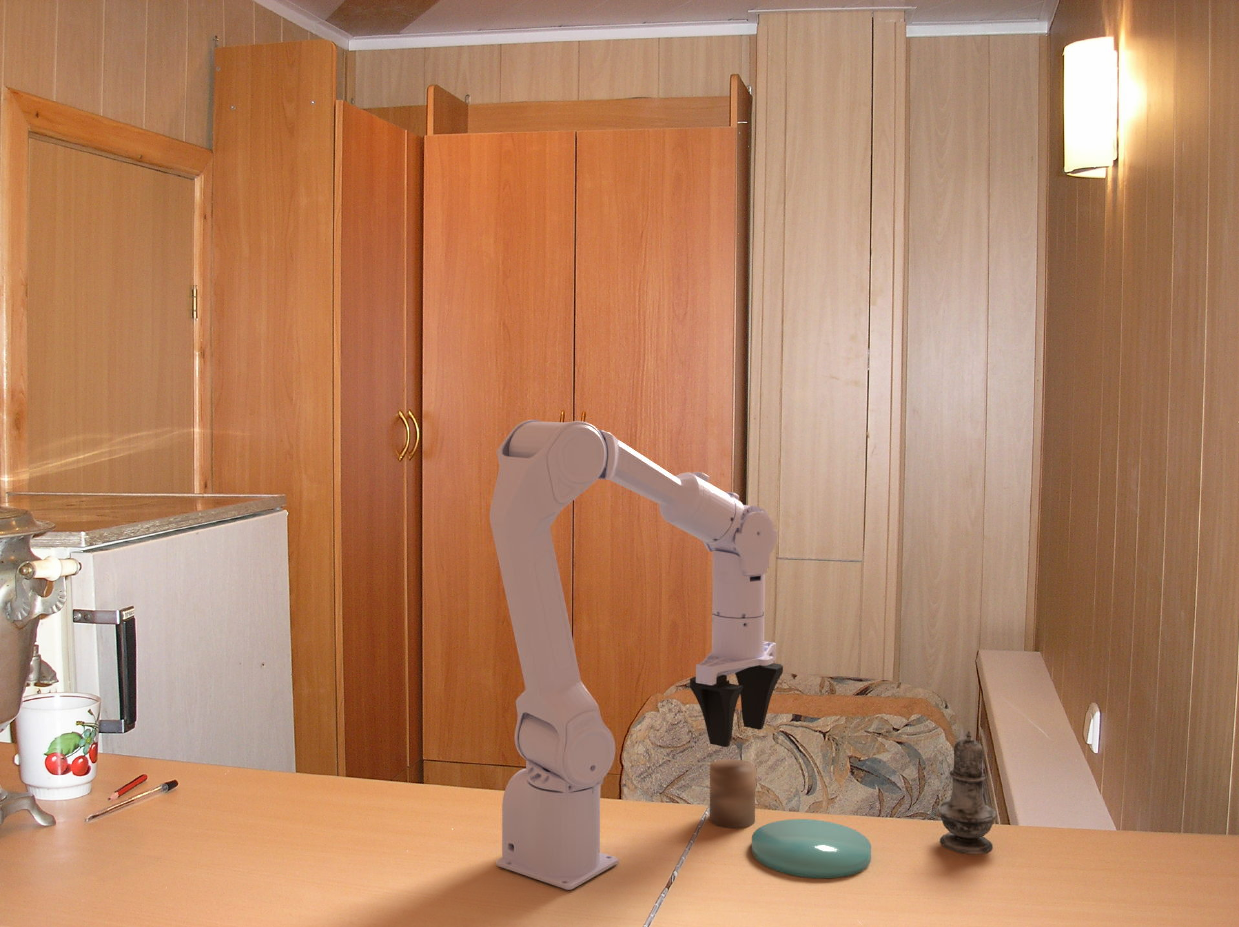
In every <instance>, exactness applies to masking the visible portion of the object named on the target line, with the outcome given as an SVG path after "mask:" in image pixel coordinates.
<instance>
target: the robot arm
mask: <svg viewBox="0 0 1239 927" xmlns="http://www.w3.org/2000/svg"><path fill="white" fill-rule="evenodd" d="M495 453H496V458H497V463H498V465H499V468H498V473H497V477H496V482H495V486H494V491H493V495H492V498H491V505H490V508H489V522H490V528H491V532H492V536H493V542H494V546H495V551H496V555H497V560H498V564H499V569H500V575H501V579H502V584H503V588H504V593H505V597H506V598H505V599H506V602H507V608H508V612H509V615H510V616H509V617H510V621H511V626H512V631H513V635H514V640H515V641H514V642H515V644H516V648H517V654H518V660H519V662H520V668H521V673H522V678H523V683H524V688H525V689H524V691H523V692H521V694H520V695H519V696H518V697H517V699H516V700H515V706H516V714H517V721H516V726H515V730H514V744H515V748H516V750H517V752H518V754H519V756H520V757H522V758H523V759H524V760H525V768H522V769H520V770H519V771H517V772H516V773H515V774H514V775H512V776H511V778H510V779H509V780H508V782H507V785H506V787H505V790H504V793H503V796H502V803H501V804H502V805H501V806H502V807H501V809H502V811H501V814H502V815H501V816H502V817H501V818H502V819H501V821H502V824H501V827H502V828H501V834H502V836H501V839H502V840H501V847H502V849H501V850H502V851H501V852H502V853H501V857H500V858H498V859H497V860H496V866H497V867H500V868H503V869H505V870H508V871H512V872H514V873H517V874H520V875H524V876H525V877H529V878H532V879H535V880H538V881H540V882H543V883H546V884H549V885H553V886H555V887H558V888H561V889H564V890H568V891H569V890H573V889H575V888H578V887H579V886H580V885H582V884H583V883H585V882H587V881H589V880H591V879H593V878H594V877H596V876H598V875H599V874H602V873H603V872H605V871H606V870H608V869H610V868H612V867H614V866H615V865H617V864H618V863H619V859H618V857H617V856H613V855H609V854H606V853H604V852H601V848H600V847H601V786H602V785H604V778H605V777H606V776H607V774H608V773H609V772H610V771H611V768H612V766H613V764H614V760H615V756H616V742H615V737H614V735H613V732H612V731H611V730H610V729H609V728H608V726H607V725H606V724H605V723H604V721H603V718H602V715H601V712H600V707H599V704H598V703H597V701H596V700H595V698H594V696H592V694H591V693H590V691H588V689H587V687H586V686H585V685H584V683H583V682H582V680H581V679H582V678H581V674H580V669H579V664H578V661H577V660H578V659H577V655H576V651H575V650H576V649H575V645H574V644H575V643H574V641H573V640H574V639H573V634H572V631H571V625H570V621H569V615H568V610H567V605H566V600H565V594H564V591H563V590H564V589H563V586H562V585H563V584H562V581H561V575H560V570H559V566H558V560H557V555H556V551H555V546H554V542H553V541H554V540H553V537H552V536H553V535H552V530H551V527H552V525H553V523H554V522H555V521H556V519H557V517H558V516H559V514H561V511H562V510H564V508H566V507H567V506H568V505H569V504H570V503H572V502H573V501H574V500H576V498H578V497H579V496H580V495H582V494H583V493H584V492H586V490H588V488H590V487H591V486H593V484H595V482H596V481H597V480H604V481H605V480H607V481H608V480H609V481H611V482H612V483H614V484H617V485H619V486H622V487H624V488H625V489H627V490H630V491H632V492H633V493H635V494H638V495H639V496H642V497H644V498H646V499H648V500H650V501H652V502H653V503H656V504H658V506H659V507H658V508H659V513H660V515H661V518H662V519H663V520H664V521H665V522H666V523H669V524H671V525H673V527H676V528H677V529H680V530H681V531H684V532H685V533H687V534H689V535H691V536H693V537H695V538H697V539H698V540H700V541H702V543H703V545H704V547H705V549H706V550H707V551H708V552H711V553H712V600H711V601H712V602H711V604H712V606H711V608H712V610H711V616H712V618H711V650H710V652H709V653H708V654H707V655H706V657H705V658H704V659H703V660H702V661H701V662H699V663H697V664H696V665H695V676H692V677H690V679H689V688H690V690H691V691H692V693H693V694H694V697H695V698H696V701H697V703H698V705H699V707H700V708H699V709H700V711H701V713H702V716H703V720H704V725H705V729H706V733H707V736H708V740H709V744H710V745H713V746H718V747H723V748H728V747H729V746H730V745H731V741H732V736H733V729H734V728H733V726H734V717H735V712H736V708H737V705H738V704H737V703H738V701H739V698H740V704H741V705H740V707H741V708H740V709H741V716H742V717H741V718H742V723H743V727H745V728H750V729H753V730H762V729H763V728H764V726H765V722H766V718H767V714H768V710H769V706H770V702H771V699H772V696H773V693H774V690H775V688H776V685H777V683H778V681H779V680H780V679H781V676H782V674H783V672H784V665H783V664H780V663H776V662H774V661H775V660H777V643H776V642H771V641H767V640H765V612H766V606H765V605H766V604H765V603H766V574H767V572H768V569H769V568H770V557H771V553H772V552H773V551H774V549H775V546H776V544H777V541H778V536H779V531H778V530H776V529H775V525H774V521H773V519H772V518H771V516H770V514H769V513H768V512H767V511H766V510H765V509H764V508H762V507H760V506H755V505H754V506H753V505H747V504H743V502H741V500H740V496H739V494H737V493H736V492H733V491H732V492H731V491H727V492H725V491H724V490H721V489H720V488H718V487H717V486H715V485H713V484H712V483H710V482H709V480H710V476H709V475H707V474H706V473H704V472H702V471H701V472H700V471H693V472H683V473H682V472H681V473H679V474H677V475H674V474H672V473H670V472H668V471H667V470H665V469H664V468H662V467H661V466H659V465H658V464H657V463H655V462H653V461H651V459H648V457H646V456H644V455H642V454H641V453H639V452H637V451H636V450H634V449H633V448H632V447H630V446H628V445H627V444H625V443H624V442H623V441H621V440H619V439H617V437H616V436H615V435H614V434H612V433H611V432H608V431H605V430H602V429H598V428H596V426H594V425H593V424H591V423H589V422H586V421H582V420H574V421H573V420H572V421H568V422H566V421H564V422H562V421H561V422H560V421H558V422H557V421H543V420H542V421H541V420H537V419H529V420H524V421H521V422H520V423H518V424H516V426H514V427H513V428H512V429H511V430H510V431H509V432H508V434H507V436H506V437H505V439H504V440H503V441H502V443H501V444H500V445H499V447H498V448H497V450H496V452H495ZM733 674H735V678H736V681H737V684H734V683H730V680H729V679H728V676H731V675H733Z"/></svg>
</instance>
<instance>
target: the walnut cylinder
mask: <svg viewBox="0 0 1239 927" xmlns="http://www.w3.org/2000/svg"><path fill="white" fill-rule="evenodd" d="M756 768H757V767H756V765H755V764H754V763H752V762H750V761H748V760H747V761H746V760H742V759H735V758H730V759H729V758H728V759H727V758H726V759H719V760H715V761H712V762H711V763H710V765H709V821H710V823H712V825H714V826H716V827H718V828H719V827H720V828H724V829H725V828H726V829H732V830H733V829H736V830H737V829H744V828H748V827H751V826H753V825H755V822H756V774H757V772H756V771H757V770H756Z"/></svg>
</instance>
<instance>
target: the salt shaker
mask: <svg viewBox="0 0 1239 927" xmlns="http://www.w3.org/2000/svg"><path fill="white" fill-rule="evenodd" d="M964 735H965V736H966V737H964V738H963V739H959V740H958V741H956V742H955V744H954V746H953V769H952V770H950V771H949V775H950V777H952V788H951V789H952V791H951V796H950V798H949V800H946V801H943V802H941V803H940V804H939V805H938V806H937V811H938V812H939V813H940V820H941V823H942V824H943V827H944V828H945V829H947V831H948V832H947V833H946V834H943V835H942V836H941V837H940V838H939V843H940V844H941V846H943V847H944V848H946V849H948V850H949V851H952V852H956V853H961V854H967V855H982V854H983V855H984V854H987V853H990V852H991V851H992V850H993V848H994V847H993V843H992V842H991V841H990V840H989V839H987V838H986V837H985V836H986V835H987V834H988V833H989V832H990V831H991V829H992V827H993V825H994V820H995V819H996V818H997V812H996V810H995V809H993V807H991V806H988V805H986V804H985V801H984V795H983V790H984V788H983V786H984V784H983V783H984V780H986V778H987V775H986V774H985V773H984V772H983V761H984V760H983V757H984V756H983V754H984V753H983V752H984V749H983V746H982V745H981V743H980V742H979V741H977V740H975V739H974V738H972V736H973V734H972V733H971V732H970V731H969V730H968V731H967V732H966V733H965V734H964Z"/></svg>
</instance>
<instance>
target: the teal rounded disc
mask: <svg viewBox="0 0 1239 927" xmlns="http://www.w3.org/2000/svg"><path fill="white" fill-rule="evenodd" d="M751 853H752V855H753V857H754V858H755V859H756V860H757V861H758V862H759V863H760V864H762V865H764V866H765V867H767V868H769V869H771V870H774V871H776V872H779V873H782V874H786V875H791V876H795V877H800V878H809V879H810V878H811V879H833V878H835V879H836V878H842V877H848V876H852V875H853V876H854V875H855V874H858V873H860V872H862V871H863V870H865V869H867V867H869V865H870V863H871V860H872V844H871V842H870V840H869V839H868V838H867V837H866V836H865V835H864V834H862V833H860V832H859V831H857V830H856V829H853V828H851V827H849V826H845V825H842V824H839V823H835V822H831V821H827V820H826V821H825V820H819V819H805V818H801V819H800V818H798V819H797V818H794V819H793V818H791V819H784V820H777V821H772V822H769V823H766V824H763V825H761V826H760V827H758V828H757V829H756V830H755V831H754V832H753V834H752V836H751Z"/></svg>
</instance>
